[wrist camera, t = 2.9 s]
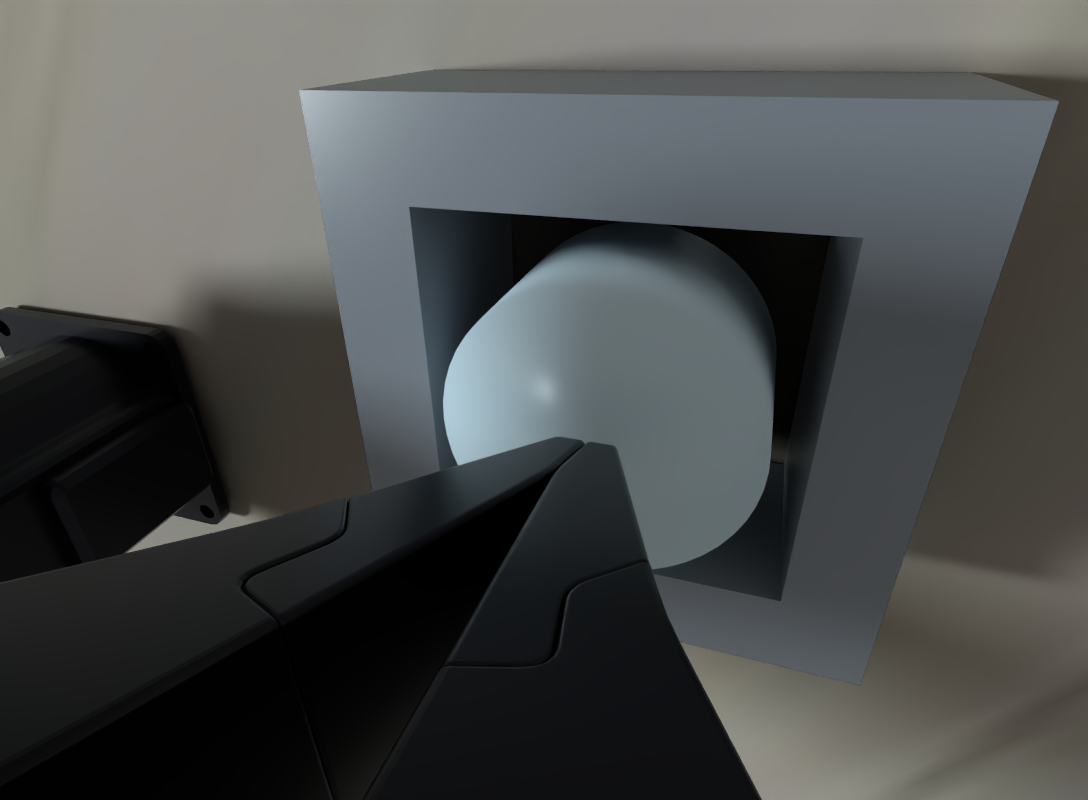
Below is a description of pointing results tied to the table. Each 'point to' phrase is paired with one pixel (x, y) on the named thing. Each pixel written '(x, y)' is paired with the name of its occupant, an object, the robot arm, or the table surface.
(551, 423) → the button
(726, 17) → the table surface
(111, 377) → the robot arm
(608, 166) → the button box
